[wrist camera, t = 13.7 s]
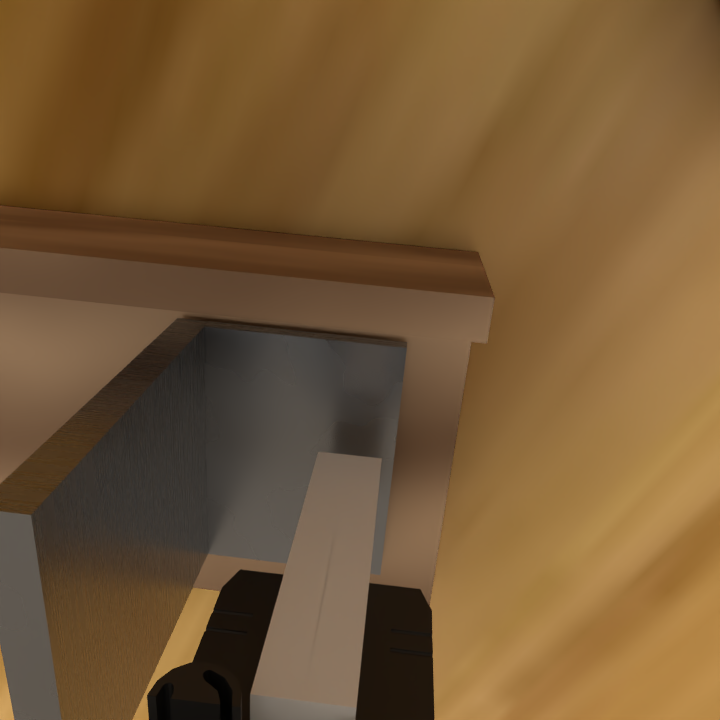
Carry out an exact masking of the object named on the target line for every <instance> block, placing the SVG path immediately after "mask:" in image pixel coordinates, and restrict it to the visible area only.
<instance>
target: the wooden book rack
mask: <svg viewBox="0 0 720 720" xmlns="http://www.w3.org/2000/svg"><path fill="white" fill-rule="evenodd" d="M494 300H495V297H494V294H493V291H492V289H491V286H490V283H489V281H488V278H487V275H486V272H485V270H484V267H483V264H482V262H481V259H480V256H479V253H478V252H470V251H460V250H450V249H440V248H430V247H419V246H409V245H399V244H389V243H379V242H368V241H358V240H348V239H338V238H328V237H317V236H307V235H297V234H287V233H276V232H266V231H256V230H246V229H236V228H225V227H215V226H205V225H195V224H185V223H174V222H164V221H154V220H144V219H134V218H123V217H113V216H103V215H93V214H83V213H72V212H62V211H52V210H42V209H32V208H21V207H11V206H1V205H0V484H1V483H2V482H3V481H4V480H5V479H6V478H7V477H8V476H9V475H10V474H11V473H12V472H13V471H15V470H16V469H17V468H18V467H19V466H20V465H21V464H22V463H23V462H24V461H25V460H26V459H27V458H28V457H30V456H31V455H32V454H33V453H34V452H35V451H36V450H37V449H38V448H39V447H40V446H41V445H42V444H43V443H44V442H46V441H47V440H48V439H49V438H50V437H51V436H52V435H53V434H54V433H55V432H56V431H57V430H58V429H59V428H61V427H62V426H63V425H64V424H65V423H66V422H67V421H68V420H69V419H70V418H71V417H72V416H73V415H74V414H75V413H77V412H78V411H79V410H80V409H81V408H82V407H83V406H84V405H85V404H86V403H87V402H88V401H89V400H90V399H92V398H93V397H94V396H95V395H96V394H97V393H98V392H99V391H100V390H101V389H102V388H103V387H104V386H105V385H106V384H108V383H109V382H110V381H111V380H112V379H113V378H114V377H115V376H116V375H117V374H118V373H119V372H120V371H121V370H123V369H124V368H125V367H126V366H127V365H128V364H129V363H130V362H131V361H132V360H133V359H134V358H135V357H136V356H137V355H139V354H140V353H141V352H142V351H143V350H144V349H145V348H146V347H147V346H148V345H149V344H150V343H151V342H152V341H154V340H155V339H156V338H157V337H158V336H159V335H160V334H161V333H162V332H163V331H164V330H165V329H166V328H167V327H168V326H170V325H171V324H172V323H173V322H174V321H175V320H176V319H177V318H183V319H193V320H202V321H212V322H221V323H231V324H240V325H250V326H259V327H269V328H278V329H288V330H297V331H307V332H316V333H326V334H335V335H345V336H354V337H364V338H373V339H383V340H392V341H402V342H407V352H406V360H405V369H404V377H403V386H402V394H401V403H400V412H399V420H398V429H397V437H396V446H395V454H394V463H393V471H392V480H391V488H390V497H389V506H388V514H387V523H386V531H385V540H384V548H383V557H382V565H381V574H380V575H375V574H370V580H369V583H374V584H383V585H391V586H400V587H408V588H417V589H421V591H422V593H423V595H424V597H425V599H426V601H427V602H428V604H429V605H430V599H431V593H432V587H433V580H434V574H435V568H436V561H437V555H438V549H439V543H440V536H441V530H442V524H443V517H444V511H445V505H446V499H447V492H448V486H449V480H450V473H451V467H452V461H453V455H454V448H455V442H456V436H457V429H458V423H459V417H460V411H461V404H462V398H463V392H464V386H465V379H466V373H467V367H468V360H469V354H470V348H471V342H477V343H486V344H487V341H488V335H489V329H490V323H491V317H492V312H493V306H494ZM286 565H287V564H286V563H277V562H269V561H261V560H253V559H245V558H237V557H229V556H220V555H212V554H208V555H207V557H206V559H205V561H204V564H203V566H202V568H201V570H200V572H199V575H198V577H197V579H196V581H195V583H194V586H193V588H201V589H209V590H217V591H221V589H222V587H223V586H224V585H225V584H226V583H227V582H228V581H229V580H230V579H231V578H232V577H233V576H234V575H235V574H236V573H237V572H238V571H239V570H240V569H242V570H250V571H259V572H267V573H276V574H284V572H285V568H286Z"/></svg>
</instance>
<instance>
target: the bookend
mask: <svg viewBox="0 0 720 720" xmlns="http://www.w3.org/2000/svg"><path fill="white" fill-rule="evenodd" d="M406 352H407V342H402V341H392V340H383V339H373V338H364V337H354V336H345V335H335V334H326V333H316V332H307V331H297V330H288V329H278V328H269V327H259V326H250V325H240V324H231V323H221V322H212V321H202V320H193V319H183V318H177V319H176V320H175V321H174V322H173V323H172V324H171V325H170V326H168V327H167V328H166V329H165V330H164V331H163V332H162V333H161V334H160V335H159V336H158V337H157V338H156V339H155V340H154V341H152V342H151V343H150V344H149V345H148V346H147V347H146V348H145V349H144V350H143V351H142V352H141V353H140V354H139V355H137V356H136V357H135V358H134V359H133V360H132V361H131V362H130V363H129V364H128V365H127V366H126V367H125V368H124V369H123V370H121V371H120V372H119V373H118V374H117V375H116V376H115V377H114V378H113V379H112V380H111V381H110V382H109V383H108V384H106V385H105V386H104V387H103V388H102V389H101V390H100V391H99V392H98V393H97V394H96V395H95V396H94V397H93V398H92V399H90V400H89V401H88V402H87V403H86V404H85V405H84V406H83V407H82V408H81V409H80V410H79V411H78V412H77V413H75V414H74V415H73V416H72V417H71V418H70V419H69V420H68V421H67V422H66V423H65V424H64V425H63V426H62V427H61V428H59V429H58V430H57V431H56V432H55V433H54V434H53V435H52V436H51V437H50V438H49V439H48V440H47V441H46V442H44V443H43V444H42V445H41V446H40V447H39V448H38V449H37V450H36V451H35V452H34V453H33V454H32V455H31V456H30V457H28V458H27V459H26V460H25V461H24V462H23V463H22V464H21V465H20V466H19V467H18V468H17V469H16V470H15V471H13V472H12V473H11V474H10V475H9V476H8V477H7V478H6V479H5V480H4V481H3V482H2V483H1V484H0V645H1V651H2V656H3V661H4V666H5V672H6V677H7V682H8V687H9V693H10V698H11V703H12V708H13V714H14V719H15V720H132V719H133V717H134V715H135V712H136V710H137V708H138V706H139V704H140V701H141V699H142V697H143V695H144V693H145V691H146V688H147V686H148V684H149V682H150V680H151V677H152V675H153V673H154V671H155V669H156V666H157V664H158V662H159V660H160V658H161V656H162V653H163V651H164V649H165V647H166V645H167V642H168V640H169V638H170V636H171V634H172V631H173V629H174V627H175V625H176V623H177V621H178V618H179V616H180V614H181V612H182V610H183V607H184V605H185V603H186V601H187V599H188V596H189V594H190V592H191V590H192V588H193V586H194V583H195V581H196V579H197V577H198V575H199V572H200V570H201V568H202V566H203V564H204V561H205V559H206V557H207V555H208V554H212V555H220V556H229V557H237V558H245V559H253V560H261V561H269V562H277V563H286V564H287V561H288V558H289V554H290V550H291V547H292V543H293V540H294V536H295V533H296V529H297V525H298V522H299V518H300V515H301V511H302V508H303V504H304V500H305V497H306V493H307V490H308V486H309V483H310V479H311V476H312V472H313V468H314V465H315V461H316V458H317V454H318V452H327V453H336V454H345V455H355V456H364V457H373V458H382V461H381V471H380V481H379V491H378V501H377V511H376V521H375V531H374V541H373V551H372V560H371V570H370V574H375V575H380V574H381V565H382V557H383V548H384V540H385V531H386V523H387V514H388V506H389V497H390V488H391V480H392V471H393V463H394V454H395V446H396V437H397V429H398V420H399V412H400V403H401V394H402V386H403V377H404V369H405V360H406Z"/></svg>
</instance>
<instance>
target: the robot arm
mask: <svg viewBox="0 0 720 720" xmlns="http://www.w3.org/2000/svg"><path fill="white" fill-rule="evenodd" d="M381 461H382V458H373V457H364V456H355V455H345V454H336V453H327V452H318V454H317V458H316V461H315V465H314V468H313V472H312V476H311V479H310V483H309V486H308V490H307V493H306V497H305V500H304V504H303V508H302V511H301V515H300V518H299V522H298V525H297V529H296V533H295V536H294V540H293V543H292V547H291V550H290V554H289V558H288V561H287V565H286V568H285V572H284V574H276V573H267V572H259V571H250V570H242V569H240V570H239V571H238V572H237V573H236V574H235V575H234V576H233V577H232V578H231V579H230V580H229V581H228V582H227V583H226V584H225V585H224V586H223V587H222V589H221V592H220V594H219V597H218V599H217V602H216V604H215V607H214V611H213V613H212V614H211V617H210V619H209V622H208V624H207V627H206V631H205V632H204V634H203V637H202V639H201V642H200V644H199V647H198V649H197V652H196V655H195V657H194V660H193V662H192V663H188V664H186V665H183V666H180V667H177V668H174V669H172V670H171V671H169V672H168V673H167V674H165V675H164V676H163V677H161V678H160V679H159V680H157V682H156V683H155V685H154V686H153V688H152V689H151V690H150V692H149V693H148V695H147V700H148V712H149V720H434V687H433V658H432V654H433V646H432V610H431V608H430V606H429V604H428V602H427V601H426V599H425V597H424V595H423V593H422V591H421V589H417V588H408V587H400V586H391V585H383V584H374V583H369V580H370V570H371V560H372V551H373V541H374V531H375V521H376V511H377V501H378V491H379V481H380V471H381Z"/></svg>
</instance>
